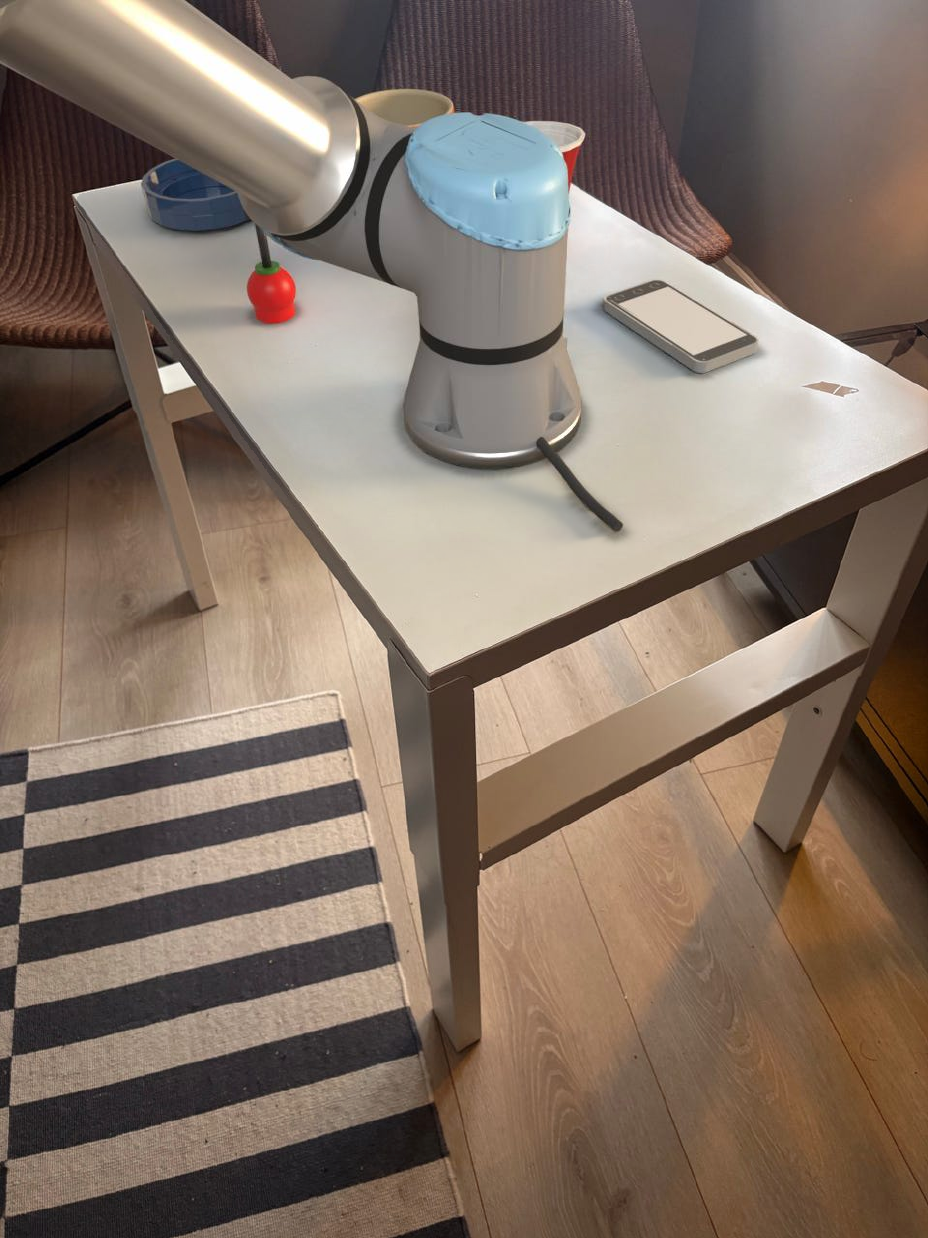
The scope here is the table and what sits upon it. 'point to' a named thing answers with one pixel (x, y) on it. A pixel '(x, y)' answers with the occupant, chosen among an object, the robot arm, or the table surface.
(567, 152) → the plastic cup
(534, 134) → the robot arm
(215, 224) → the dish
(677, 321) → the smartphone
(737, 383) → the table surface
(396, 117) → the planter
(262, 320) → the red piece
